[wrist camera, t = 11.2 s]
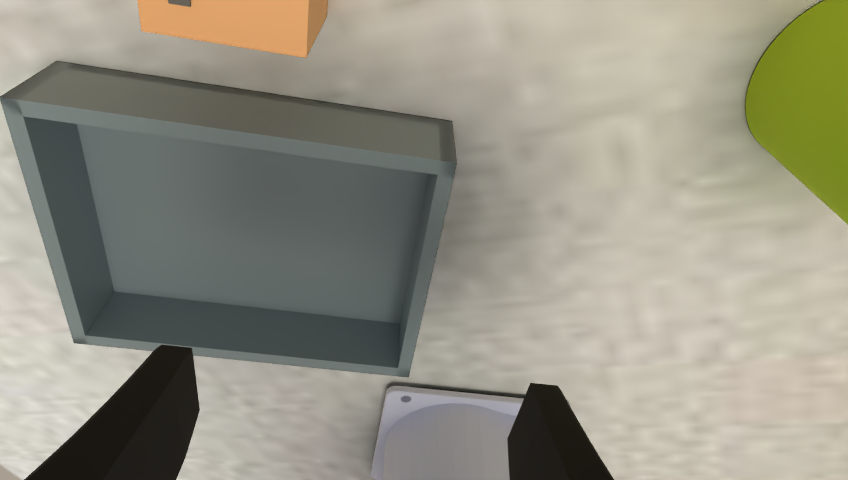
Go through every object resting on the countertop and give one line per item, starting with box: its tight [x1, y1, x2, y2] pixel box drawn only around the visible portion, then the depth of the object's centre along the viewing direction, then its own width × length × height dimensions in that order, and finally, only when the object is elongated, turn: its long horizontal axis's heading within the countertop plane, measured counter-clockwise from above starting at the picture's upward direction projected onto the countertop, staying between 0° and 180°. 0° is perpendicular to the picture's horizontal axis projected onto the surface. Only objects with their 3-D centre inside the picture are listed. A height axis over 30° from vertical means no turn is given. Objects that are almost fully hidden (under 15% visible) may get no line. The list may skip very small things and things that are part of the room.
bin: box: [0, 61, 457, 377], centre depth 20 cm, size 13×10×3 cm
